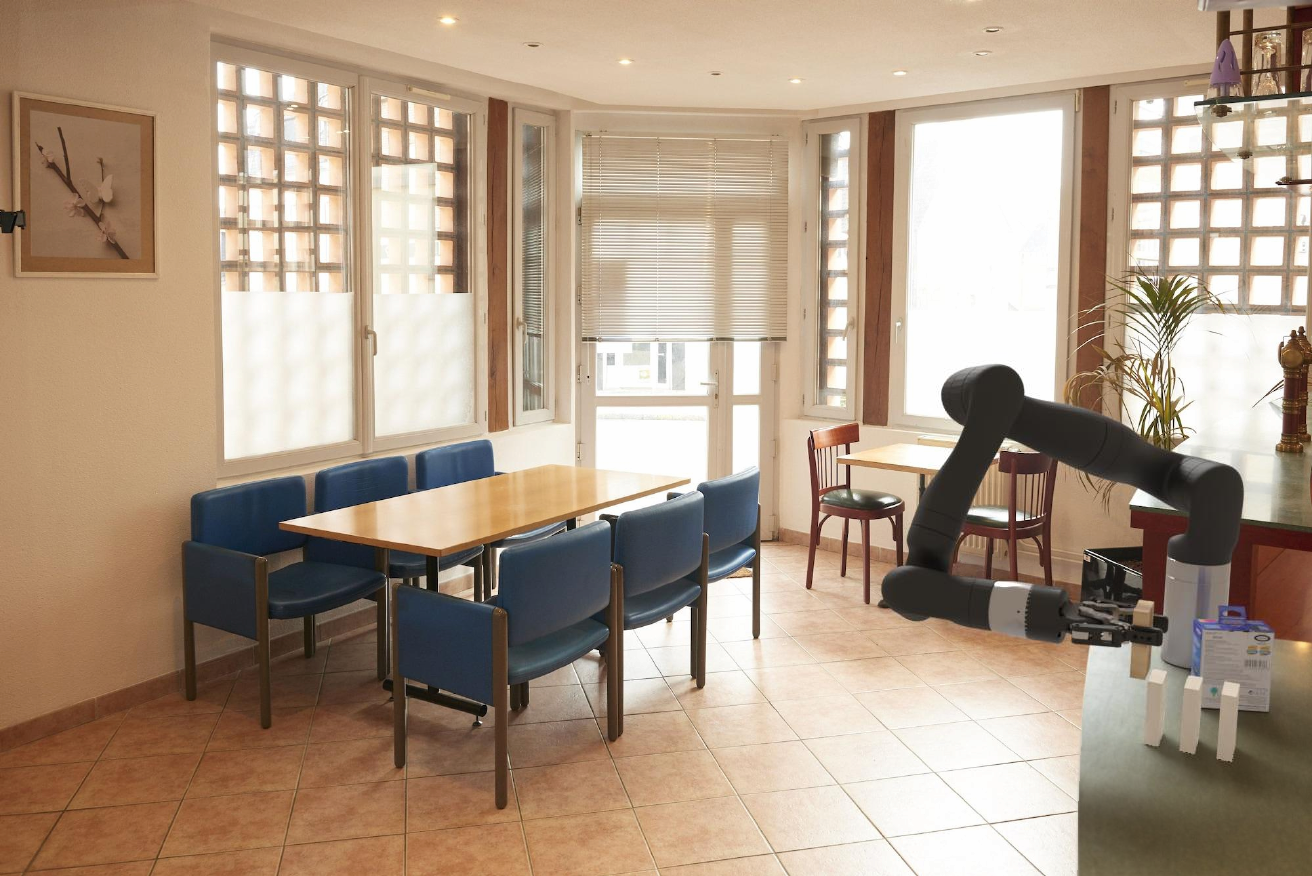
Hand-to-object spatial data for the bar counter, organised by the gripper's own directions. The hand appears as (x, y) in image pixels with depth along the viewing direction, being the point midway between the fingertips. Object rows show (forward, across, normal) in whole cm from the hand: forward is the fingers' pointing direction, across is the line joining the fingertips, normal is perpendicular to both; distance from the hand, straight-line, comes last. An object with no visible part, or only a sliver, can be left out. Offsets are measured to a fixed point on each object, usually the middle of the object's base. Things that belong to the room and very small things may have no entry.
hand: (1164, 631), depth 137 cm
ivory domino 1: (-1, +7, +18) cm, 19 cm away
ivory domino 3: (+8, +7, +18) cm, 21 cm away
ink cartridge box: (+7, +25, +18) cm, 32 cm away
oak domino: (-3, 0, +6) cm, 7 cm away
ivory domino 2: (+3, +7, +18) cm, 19 cm away
